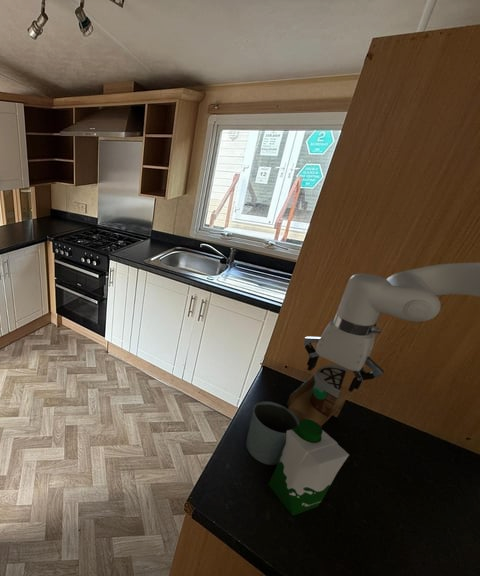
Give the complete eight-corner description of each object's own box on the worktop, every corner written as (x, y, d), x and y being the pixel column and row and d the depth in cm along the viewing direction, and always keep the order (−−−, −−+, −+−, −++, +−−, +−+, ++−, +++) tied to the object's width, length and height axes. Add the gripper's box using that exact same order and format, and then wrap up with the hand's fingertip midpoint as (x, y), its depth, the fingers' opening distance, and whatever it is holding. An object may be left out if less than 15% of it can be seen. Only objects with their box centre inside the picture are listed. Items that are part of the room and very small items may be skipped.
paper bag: (338, 415, 91) (350, 390, 87) (313, 443, 83) (325, 416, 78) (306, 397, 98) (316, 372, 93) (280, 421, 89) (289, 395, 85)
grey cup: (237, 450, 81) (247, 418, 75) (249, 426, 88) (259, 394, 82) (280, 476, 75) (295, 442, 70) (290, 447, 82) (303, 414, 76)
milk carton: (291, 471, 76) (317, 413, 67) (325, 510, 68) (359, 450, 59) (261, 481, 74) (284, 422, 65) (292, 522, 66) (323, 461, 57)
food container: (311, 384, 93) (321, 357, 88) (335, 394, 89) (348, 367, 85) (300, 407, 85) (311, 379, 80) (327, 420, 81) (340, 391, 77)
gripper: (404, 335, 71) (375, 391, 78) (320, 305, 84) (302, 356, 91) (393, 346, 67) (364, 405, 75) (307, 313, 80) (290, 366, 87)
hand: (330, 378), depth 83 cm, fingers open, 9 cm apart
